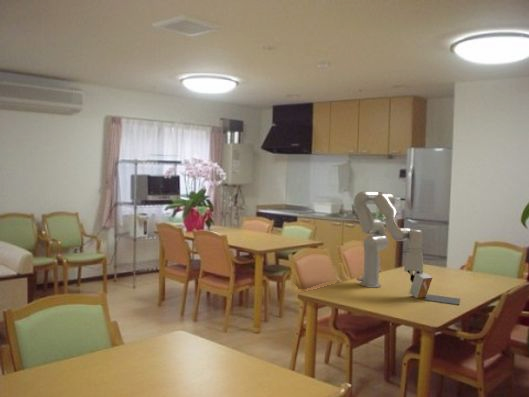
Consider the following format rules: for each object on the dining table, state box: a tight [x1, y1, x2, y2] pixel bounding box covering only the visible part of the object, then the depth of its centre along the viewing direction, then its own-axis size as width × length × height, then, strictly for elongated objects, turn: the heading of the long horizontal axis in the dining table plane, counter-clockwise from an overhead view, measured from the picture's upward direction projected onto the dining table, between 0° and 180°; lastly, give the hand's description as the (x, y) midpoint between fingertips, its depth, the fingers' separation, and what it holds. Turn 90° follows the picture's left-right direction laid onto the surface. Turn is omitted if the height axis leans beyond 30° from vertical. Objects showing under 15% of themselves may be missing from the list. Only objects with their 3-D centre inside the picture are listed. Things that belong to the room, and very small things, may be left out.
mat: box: [424, 293, 461, 306], centre depth 281 cm, size 18×14×1 cm
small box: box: [408, 272, 433, 299], centre depth 285 cm, size 8×6×13 cm
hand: (413, 281), depth 287 cm, fingers closed
